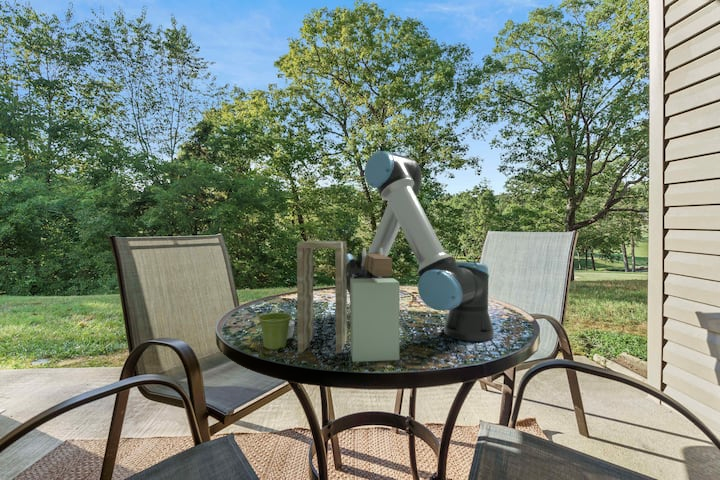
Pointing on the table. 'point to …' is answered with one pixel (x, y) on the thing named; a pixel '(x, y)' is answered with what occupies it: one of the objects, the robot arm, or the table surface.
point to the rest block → (374, 319)
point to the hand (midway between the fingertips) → (373, 252)
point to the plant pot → (275, 329)
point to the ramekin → (290, 329)
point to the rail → (378, 264)
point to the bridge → (307, 291)
